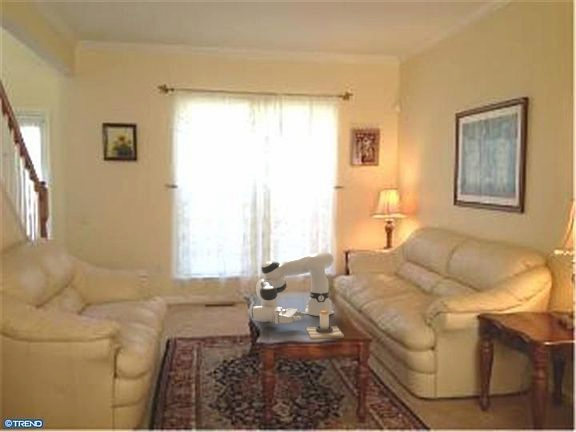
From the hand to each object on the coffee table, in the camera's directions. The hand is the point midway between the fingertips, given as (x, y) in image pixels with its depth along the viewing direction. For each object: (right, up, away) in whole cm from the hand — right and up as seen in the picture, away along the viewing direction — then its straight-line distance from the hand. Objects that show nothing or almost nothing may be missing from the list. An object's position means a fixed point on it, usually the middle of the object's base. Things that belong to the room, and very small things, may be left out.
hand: (303, 316), depth 294 cm
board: (+12, -9, -2) cm, 15 cm away
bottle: (+12, -8, -2) cm, 14 cm away
